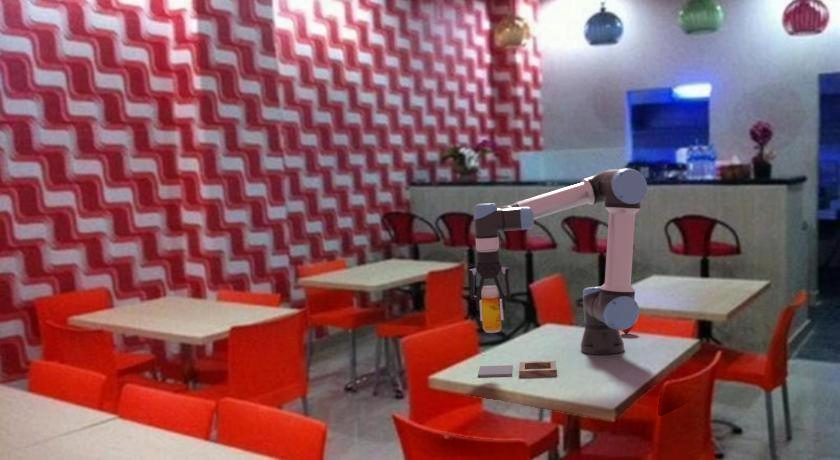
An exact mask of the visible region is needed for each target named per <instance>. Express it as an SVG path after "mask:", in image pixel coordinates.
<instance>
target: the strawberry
mask: <svg viewBox="0 0 840 460" xmlns="http://www.w3.org/2000/svg"><path fill="white" fill-rule="evenodd" d="M635 324H636V323H635ZM635 324H633V325H632V326H631V327H630V328H628V329H625V330H621V331H622V332H623V333H624V334H625V335H627V334H629V333H630V331H631V330H632V329H633V328H634V326H635Z"/></svg>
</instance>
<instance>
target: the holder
mask: <svg viewBox="0 0 840 460" xmlns="http://www.w3.org/2000/svg"><path fill="white" fill-rule="evenodd" d="M518 365H519V368H518V373H519V374H518V375H519V376H518V377H519V378H533V377H534V378H535V377H536V378H537V377H540V378H541V377H557V376H558V370H557V361H556V360H536V361H535V360H534V361H531V360H530V361H519V364H518Z"/></svg>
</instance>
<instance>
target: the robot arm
mask: <svg viewBox="0 0 840 460" xmlns="http://www.w3.org/2000/svg"><path fill="white" fill-rule="evenodd" d="M647 191H648V184H647V180H646V178H645V176H644V175H643V174H642V173H641V172H640V171H639V170H636V169H634V168H628V167H625V168H623V167H622V168H610V169H608V170H607V169H606V170H604V171H602V172H599V173H596V174H594V175H591V176H588V177H586V178H582V179H581V182H580V183H576V184H573V185H570V186H566V187H562V188H559V189H556V190H553V191H550V192H546V193H542V194H538V195H536V196H533V197H530V198H527V199H522V200H519V201H516V202H514V203H510V204H506V205H499V206H497V204H496V203H495V202H492V203H489V202H488V203H477V204H476V205H474V207H473V221H474V233H475V239H474V240H475V250H476V267H475V268H471V269H469V270H468V275H469V278H470V279H469V284H470V285H469V286H470V287H469V288H470V289H469V290H470V291H469V292H470V295H469V298H470V300H472V301H475V306H476V311H478V312H479V314H480V315H479V317H480V322H483V313H482V301H481V290H482V287H483V286H484V283H485V281H486V280H488V279H491V280H492V279H493V280H494V283H495V285H496V286H497V288H498V291H499V294H500V316H501V321H504V311H505V310H506V308H507V301H506V300H507V299H510V298H511V297H512V292H511V285H510V276H509V274H510V267H508V266H507V267H505V266H502V264H501V261H500V260H501V259H500V251H499V249H500V243H499V239H500V238H499V232H507V231H508V232H509V231H519V230H520V231H524V230H530V229H532V228H533V226H534V222H535V220H537V219H539V218H544V217H547V216H550V215H553V214H555V213H560V212H563V211H566V210H570V209H572V208H576V207H581V206H583V205H586V204H588V205H590V206H592V205H593V206H594V205H596V204H601V203H604V209H605V210H606V211H607V212H608V224H607V225H608V226H607V241H606V258H605V259H606V260H605V271H604V273H605V275H604V283H603V284H602V285H600V286H591V287H585V288H584V289H583V290H582V296H581V297H582V307H583V308H582V309H583V320H584V331H583V333H582V334H583V335H582V338H581V342H580V351H581V352H582V353H584V354H588V355H599V356H600V355H601V356H603V355H615V354H618V353H622V352H624V351H625V343H624V341H623V338H622V335H621V332H620V331H622V330H625V329H628V328H630V327H631V326H632V325H633V324H636V322H637V321H638V318H639V316H640V307H639V305H638V303H637V301H636V299H635V297H636V296H635V295H636V289H635V288H634V287H633V286H632V271H633V268H632V267H633V256H634V255H633V254H634V252H633V251H634V241H635V240H634V236H635V222H636V214H637V213H638V212H639V211H641V203H642V200H643V199H644V198H645V197H646V194H647ZM501 271H502V274H503V275H504V283H505V290H506V294H505V292H504V290H503V289H504V288H503V287H502V284H501V281H500V279H499V273H500V272H501ZM476 273H478V274H479V275H480V282H479V284H478V285H479V286H478V289H477V293H476V295H475V276H476Z"/></svg>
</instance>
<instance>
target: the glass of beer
mask: <svg viewBox="0 0 840 460" xmlns="http://www.w3.org/2000/svg"><path fill="white" fill-rule="evenodd" d="M500 299H501V296H500V293H499V291H498V288H497V285H496V284H494V285H492V284H491V285H489V284H487V285H483V287H482V290H481V296H480V300H481V301H482V313H483V321H482V329H483V330H484V333H488V334H495V333H500V332H501V330H502V328H503V327H502V320H501V316H500Z"/></svg>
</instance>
